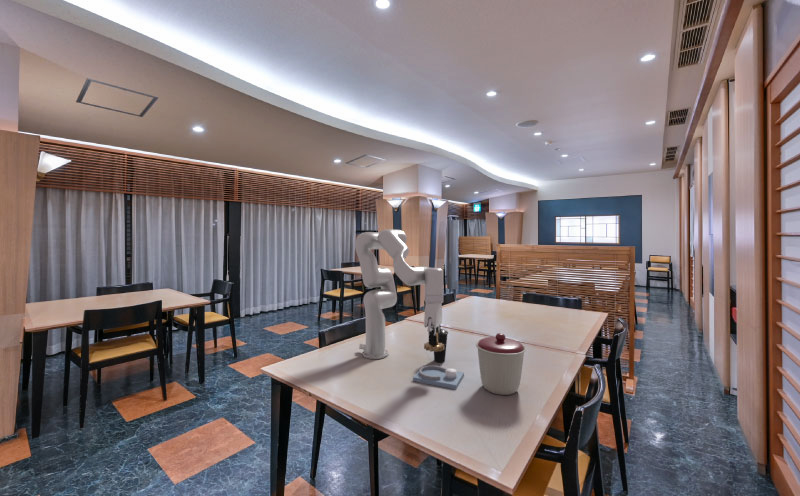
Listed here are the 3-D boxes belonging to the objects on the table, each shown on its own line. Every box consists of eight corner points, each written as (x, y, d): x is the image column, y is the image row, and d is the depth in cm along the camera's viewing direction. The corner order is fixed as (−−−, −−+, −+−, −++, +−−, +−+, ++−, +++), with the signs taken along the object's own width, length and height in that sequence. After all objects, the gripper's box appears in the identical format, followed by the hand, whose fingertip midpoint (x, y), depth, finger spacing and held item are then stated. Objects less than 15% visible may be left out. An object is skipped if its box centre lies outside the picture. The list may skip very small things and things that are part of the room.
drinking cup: (447, 364, 146) (447, 320, 146) (430, 363, 148) (430, 319, 147) (448, 358, 154) (448, 316, 153) (432, 357, 155) (432, 315, 155)
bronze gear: (421, 350, 130) (421, 334, 130) (427, 344, 138) (427, 328, 138) (441, 352, 127) (441, 336, 127) (446, 346, 134) (446, 331, 134)
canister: (519, 405, 110) (520, 344, 110) (468, 392, 120) (469, 335, 119) (529, 385, 126) (530, 331, 125) (483, 375, 135) (484, 324, 135)
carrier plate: (413, 380, 129) (413, 371, 129) (423, 369, 141) (423, 359, 141) (456, 389, 122) (456, 378, 122) (463, 375, 134) (464, 366, 134)
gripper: (431, 294, 141) (431, 336, 141) (418, 301, 126) (418, 348, 126) (448, 295, 138) (448, 339, 138) (436, 302, 123) (436, 351, 123)
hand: (434, 343), depth 132 cm, fingers closed on bronze gear, 3 cm apart
